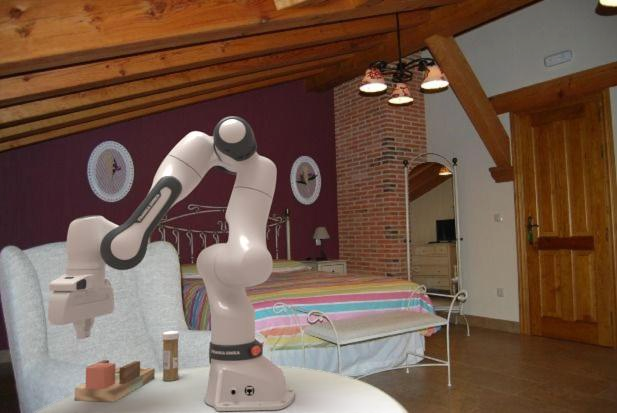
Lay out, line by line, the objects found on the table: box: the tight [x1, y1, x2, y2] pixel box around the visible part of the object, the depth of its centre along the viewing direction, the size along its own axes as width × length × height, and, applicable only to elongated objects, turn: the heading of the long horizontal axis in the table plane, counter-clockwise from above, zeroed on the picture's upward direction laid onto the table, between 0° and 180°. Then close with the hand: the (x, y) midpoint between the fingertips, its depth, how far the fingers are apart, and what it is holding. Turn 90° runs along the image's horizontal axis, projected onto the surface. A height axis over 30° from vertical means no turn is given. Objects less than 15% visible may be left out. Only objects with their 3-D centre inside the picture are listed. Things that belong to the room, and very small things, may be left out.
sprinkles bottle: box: [162, 330, 180, 382], centre depth 133 cm, size 5×5×13 cm
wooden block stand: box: [74, 359, 156, 403], centre depth 125 cm, size 11×20×7 cm, turn 170°
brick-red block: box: [85, 362, 117, 389], centre depth 118 cm, size 5×5×5 cm
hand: (83, 338), depth 112 cm, fingers closed
